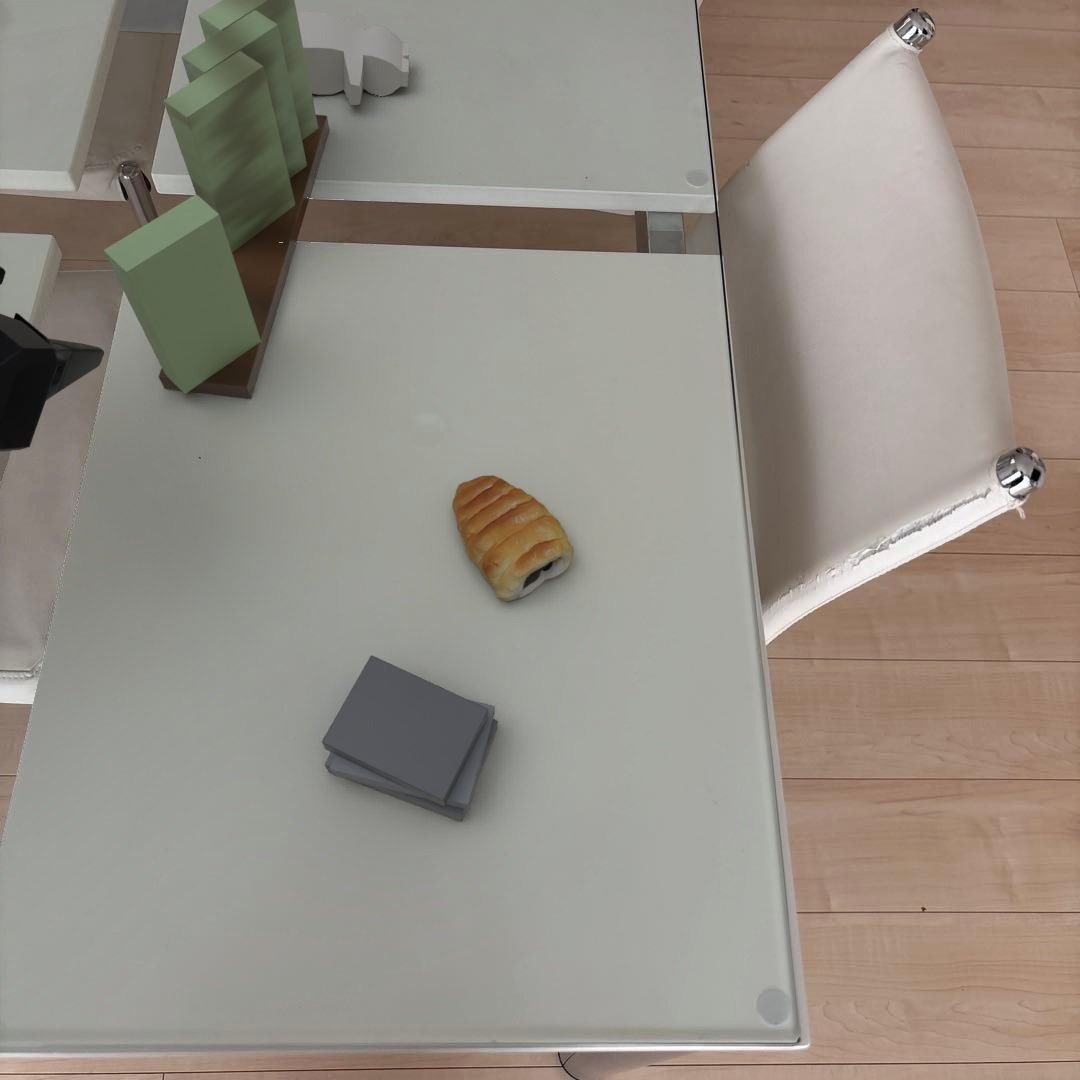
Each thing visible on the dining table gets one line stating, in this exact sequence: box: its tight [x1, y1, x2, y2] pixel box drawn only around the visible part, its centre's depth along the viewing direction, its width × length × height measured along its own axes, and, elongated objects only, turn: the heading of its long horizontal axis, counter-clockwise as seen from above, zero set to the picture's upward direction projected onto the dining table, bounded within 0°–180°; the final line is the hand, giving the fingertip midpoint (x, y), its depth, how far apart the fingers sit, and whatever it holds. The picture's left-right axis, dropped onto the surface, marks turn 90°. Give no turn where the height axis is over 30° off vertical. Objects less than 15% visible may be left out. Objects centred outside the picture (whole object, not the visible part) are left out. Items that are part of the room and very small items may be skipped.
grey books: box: [321, 655, 498, 823], centre depth 59 cm, size 9×7×5 cm
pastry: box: [451, 474, 575, 602], centre depth 67 cm, size 9×7×4 cm
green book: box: [103, 193, 261, 395], centre depth 66 cm, size 7×2×13 cm, turn 135°
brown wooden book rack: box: [158, 0, 330, 400], centre depth 72 cm, size 29×7×14 cm, turn 174°
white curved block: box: [297, 10, 410, 106], centre depth 86 cm, size 10×5×15 cm
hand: (50, 315), depth 58 cm, fingers open, 9 cm apart
